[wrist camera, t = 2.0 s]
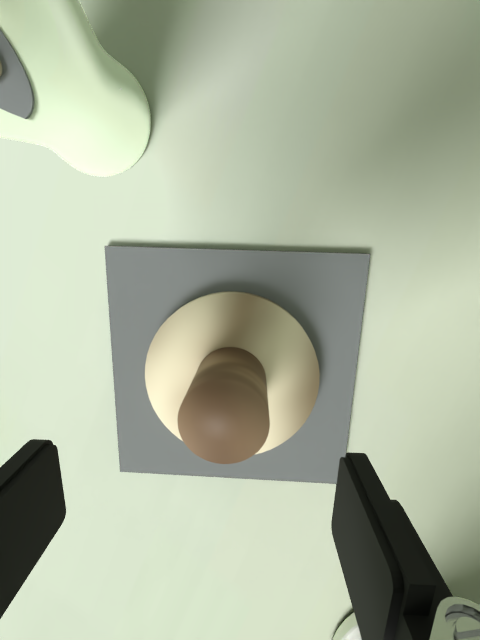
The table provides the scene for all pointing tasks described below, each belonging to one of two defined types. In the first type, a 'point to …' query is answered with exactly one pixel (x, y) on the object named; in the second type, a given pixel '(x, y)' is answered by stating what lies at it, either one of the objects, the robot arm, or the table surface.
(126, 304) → the mat
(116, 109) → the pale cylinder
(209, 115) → the table surface
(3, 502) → the robot arm
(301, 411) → the lid
